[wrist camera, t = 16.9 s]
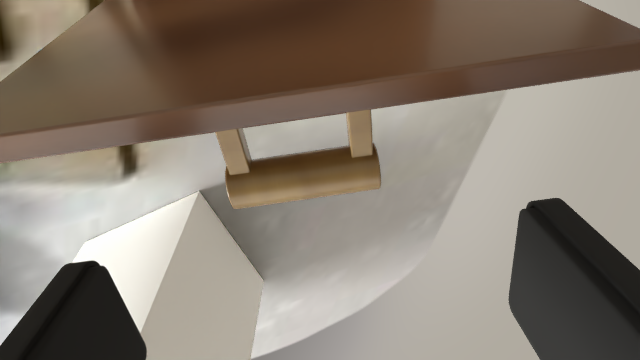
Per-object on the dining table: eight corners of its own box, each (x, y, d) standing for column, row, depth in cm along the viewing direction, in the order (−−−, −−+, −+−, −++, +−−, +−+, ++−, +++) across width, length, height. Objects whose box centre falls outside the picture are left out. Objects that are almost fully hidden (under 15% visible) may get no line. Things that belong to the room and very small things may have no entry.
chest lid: (-87, 147, 9) (33, 277, 13) (663, 37, 9) (594, 199, 12) (120, -13, 21) (155, 74, 25) (446, -63, 21) (440, 32, 24)
